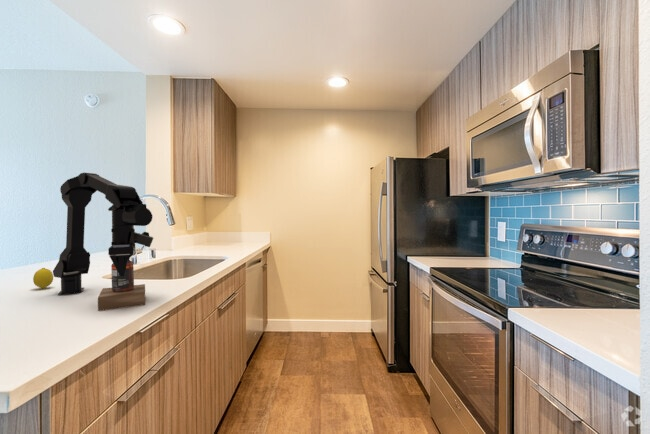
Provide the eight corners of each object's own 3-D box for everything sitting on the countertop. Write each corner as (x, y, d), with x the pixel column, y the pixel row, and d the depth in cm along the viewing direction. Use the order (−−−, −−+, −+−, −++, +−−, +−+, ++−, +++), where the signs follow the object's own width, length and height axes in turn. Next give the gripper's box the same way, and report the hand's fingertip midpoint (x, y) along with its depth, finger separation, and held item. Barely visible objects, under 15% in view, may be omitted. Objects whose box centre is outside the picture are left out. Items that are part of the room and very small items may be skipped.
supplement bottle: (130, 286, 102) (129, 253, 101) (136, 289, 98) (136, 255, 98) (109, 290, 97) (108, 255, 97) (115, 293, 93) (114, 257, 93)
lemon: (50, 286, 118) (49, 265, 117) (55, 288, 115) (55, 267, 115) (31, 289, 113) (30, 268, 113) (36, 291, 110) (36, 269, 110)
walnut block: (102, 300, 100) (102, 288, 100) (145, 295, 106) (145, 284, 106) (97, 311, 89) (97, 297, 89) (145, 304, 95) (144, 292, 95)
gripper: (152, 226, 93) (152, 276, 93) (151, 223, 109) (151, 266, 110) (108, 226, 87) (108, 280, 88) (113, 224, 103) (114, 269, 104)
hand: (123, 273), depth 97 cm, fingers open, 9 cm apart
